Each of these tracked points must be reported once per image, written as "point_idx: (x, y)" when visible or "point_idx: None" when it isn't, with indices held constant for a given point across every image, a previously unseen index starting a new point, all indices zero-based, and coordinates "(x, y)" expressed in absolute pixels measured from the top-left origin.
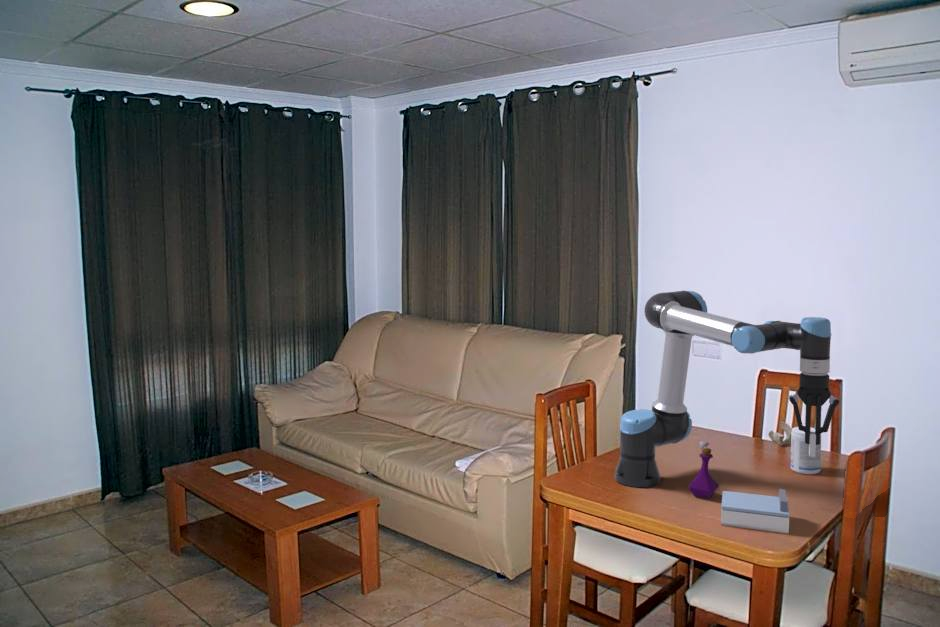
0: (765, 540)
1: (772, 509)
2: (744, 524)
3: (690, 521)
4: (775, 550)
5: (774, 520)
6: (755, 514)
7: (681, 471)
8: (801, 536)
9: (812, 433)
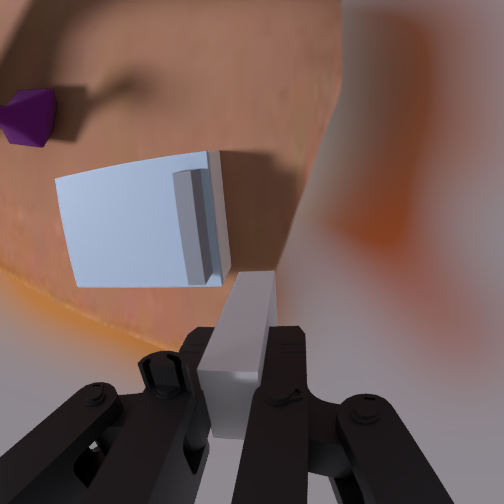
0: (190, 317)
1: (177, 266)
2: None
3: (57, 272)
4: None
5: None
6: None
7: (14, 15)
8: None
9: (232, 424)
